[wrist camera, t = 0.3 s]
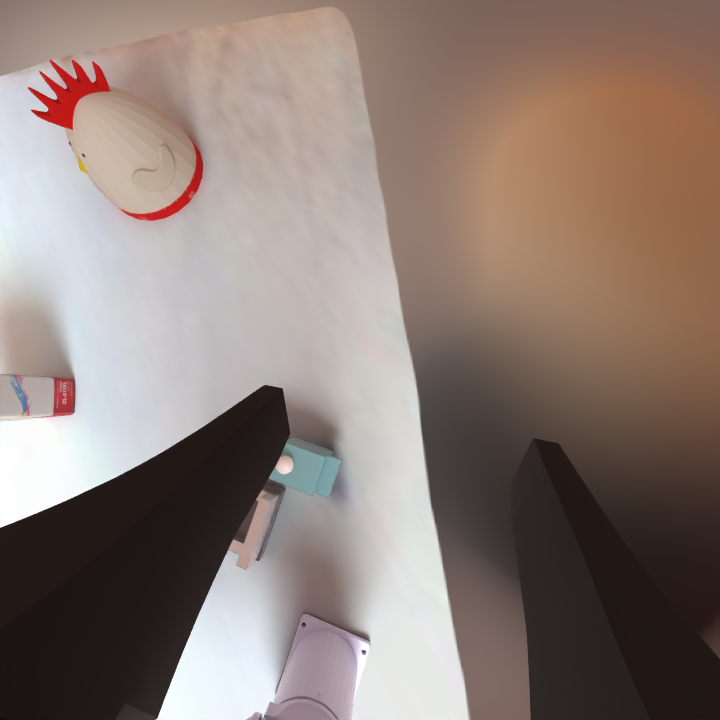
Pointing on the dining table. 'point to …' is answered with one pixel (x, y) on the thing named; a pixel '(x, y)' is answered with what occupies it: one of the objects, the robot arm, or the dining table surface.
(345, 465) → the dining table surface
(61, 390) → the ink box
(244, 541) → the plate
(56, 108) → the chicken hat
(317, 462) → the block
